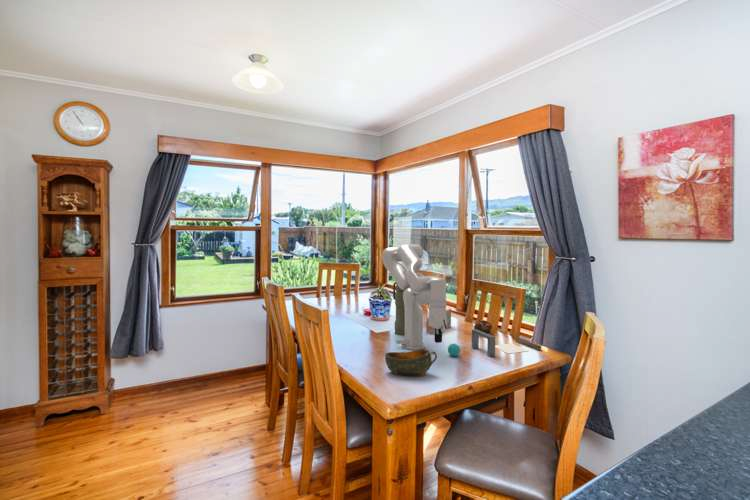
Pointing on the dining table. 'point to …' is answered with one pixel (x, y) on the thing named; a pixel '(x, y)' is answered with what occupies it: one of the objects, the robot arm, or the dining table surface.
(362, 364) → the dining table surface
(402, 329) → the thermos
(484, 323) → the decorative turtle
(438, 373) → the dining table surface
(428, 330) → the stack of blocks
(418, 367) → the cup
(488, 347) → the bridge
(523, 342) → the stopper wall
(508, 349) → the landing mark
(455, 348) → the ball
